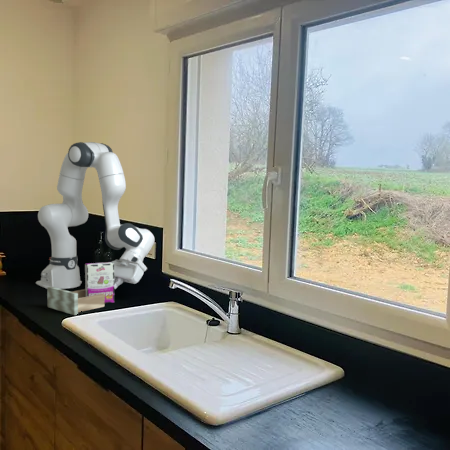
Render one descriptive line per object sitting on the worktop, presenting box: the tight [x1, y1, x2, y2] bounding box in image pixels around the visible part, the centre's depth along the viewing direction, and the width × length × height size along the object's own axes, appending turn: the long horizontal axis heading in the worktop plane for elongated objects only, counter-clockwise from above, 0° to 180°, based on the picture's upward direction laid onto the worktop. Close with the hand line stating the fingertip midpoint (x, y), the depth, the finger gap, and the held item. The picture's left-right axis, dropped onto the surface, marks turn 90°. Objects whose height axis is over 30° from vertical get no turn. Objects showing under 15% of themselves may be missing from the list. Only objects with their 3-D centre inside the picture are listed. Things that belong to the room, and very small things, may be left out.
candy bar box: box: [84, 261, 115, 304], centre depth 209 cm, size 11×5×16 cm, turn 116°
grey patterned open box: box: [46, 286, 106, 316], centre depth 202 cm, size 18×16×8 cm
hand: (112, 287), depth 215 cm, fingers closed
